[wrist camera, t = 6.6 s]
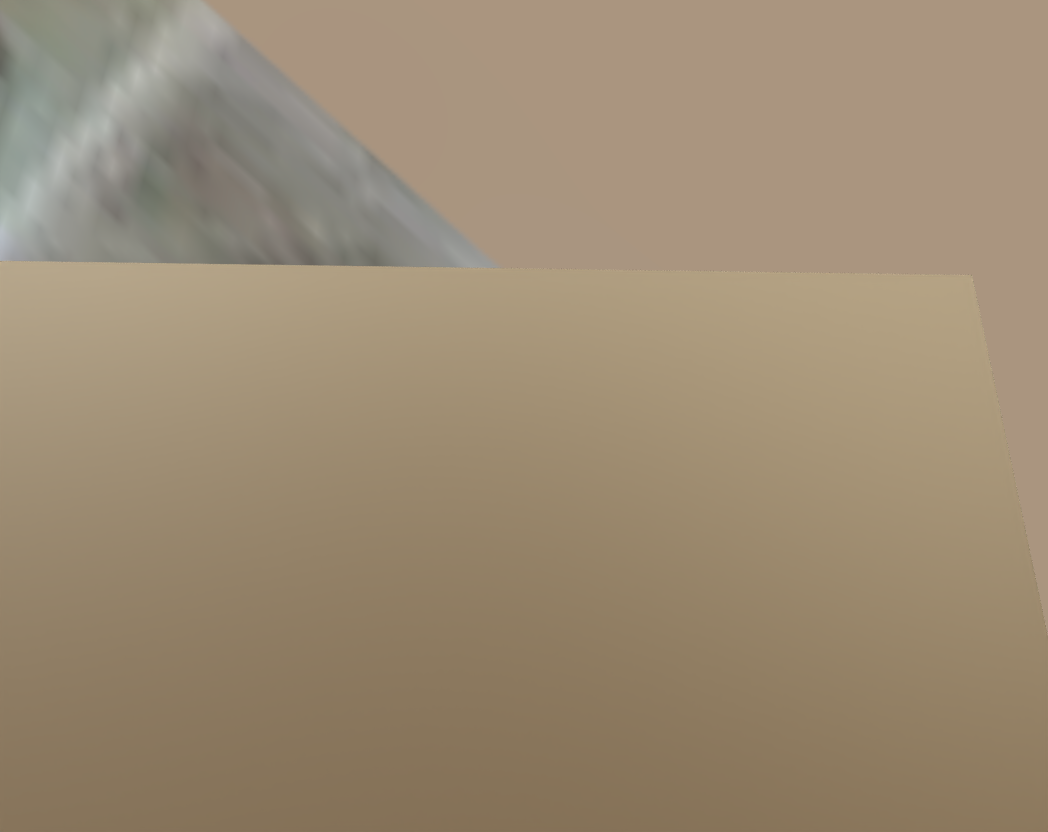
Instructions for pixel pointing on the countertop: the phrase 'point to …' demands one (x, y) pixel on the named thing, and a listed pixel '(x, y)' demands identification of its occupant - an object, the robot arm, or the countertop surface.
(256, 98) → the countertop surface
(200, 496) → the wooden block
